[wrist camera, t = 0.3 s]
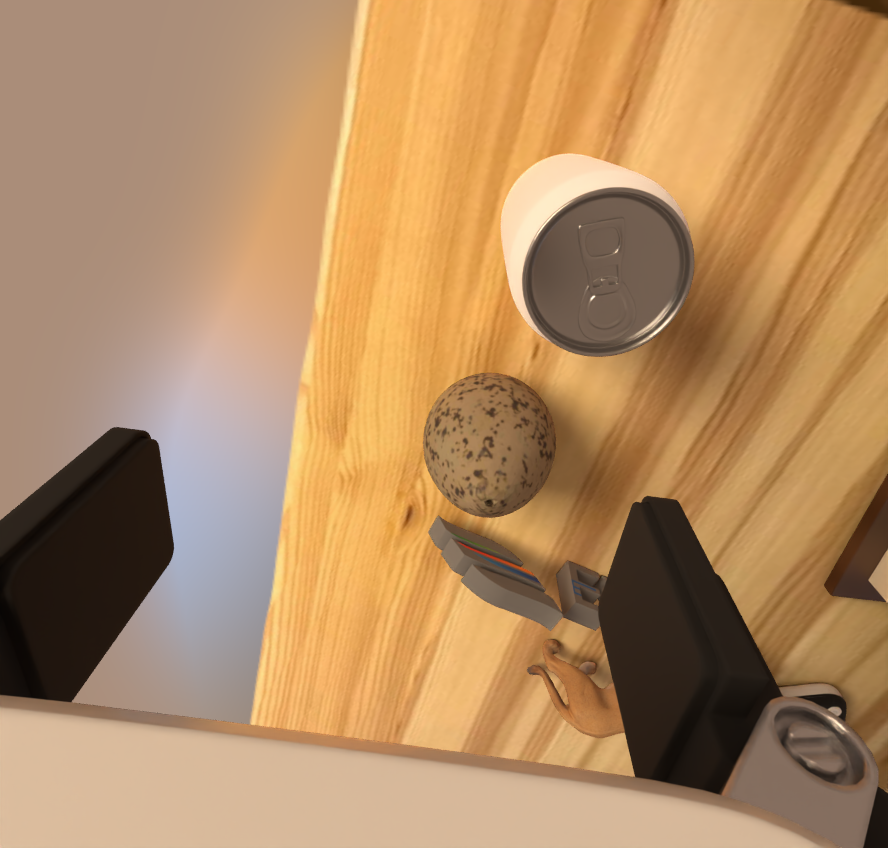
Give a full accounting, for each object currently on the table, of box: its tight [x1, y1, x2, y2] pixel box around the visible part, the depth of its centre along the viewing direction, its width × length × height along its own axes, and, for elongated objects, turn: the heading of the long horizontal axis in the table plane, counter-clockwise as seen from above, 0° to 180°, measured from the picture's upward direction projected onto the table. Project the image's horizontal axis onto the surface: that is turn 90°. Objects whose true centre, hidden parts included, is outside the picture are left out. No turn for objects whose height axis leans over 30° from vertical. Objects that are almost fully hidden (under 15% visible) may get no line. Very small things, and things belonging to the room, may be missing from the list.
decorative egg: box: [423, 373, 556, 518], centre depth 30 cm, size 7×7×10 cm
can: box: [501, 154, 694, 357], centre depth 24 cm, size 6×6×12 cm
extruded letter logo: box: [428, 516, 607, 631], centre depth 38 cm, size 25×2×6 cm, turn 64°
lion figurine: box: [527, 640, 625, 738], centre depth 40 cm, size 15×5×9 cm, turn 111°
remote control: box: [779, 683, 847, 721], centre depth 45 cm, size 6×13×2 cm, turn 104°
